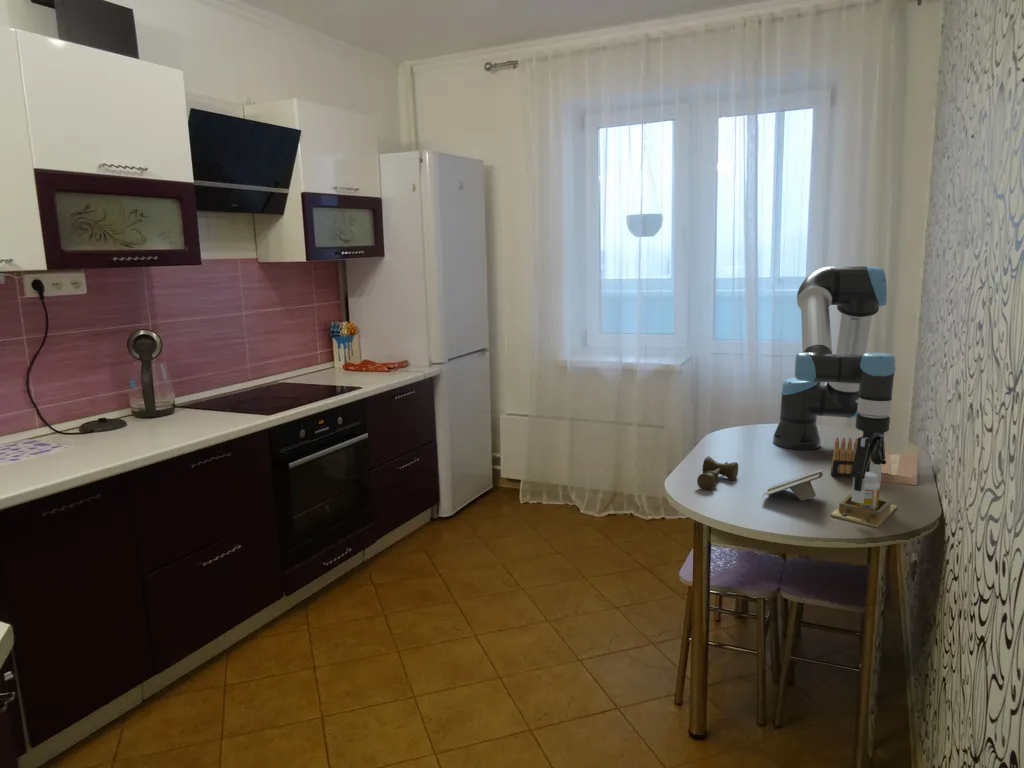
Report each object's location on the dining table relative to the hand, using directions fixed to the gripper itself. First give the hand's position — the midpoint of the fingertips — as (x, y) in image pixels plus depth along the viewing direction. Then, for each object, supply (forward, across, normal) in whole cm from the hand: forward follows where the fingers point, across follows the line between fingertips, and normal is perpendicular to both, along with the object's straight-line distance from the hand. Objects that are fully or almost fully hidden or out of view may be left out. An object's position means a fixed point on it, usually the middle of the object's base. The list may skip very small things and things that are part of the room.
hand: (865, 494), depth 179 cm
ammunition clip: (+5, -26, -12) cm, 29 cm away
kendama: (+5, +2, -40) cm, 40 cm away
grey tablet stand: (+5, +2, -18) cm, 19 cm away
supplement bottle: (+4, 0, 0) cm, 4 cm away
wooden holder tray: (+5, 0, 0) cm, 5 cm away
